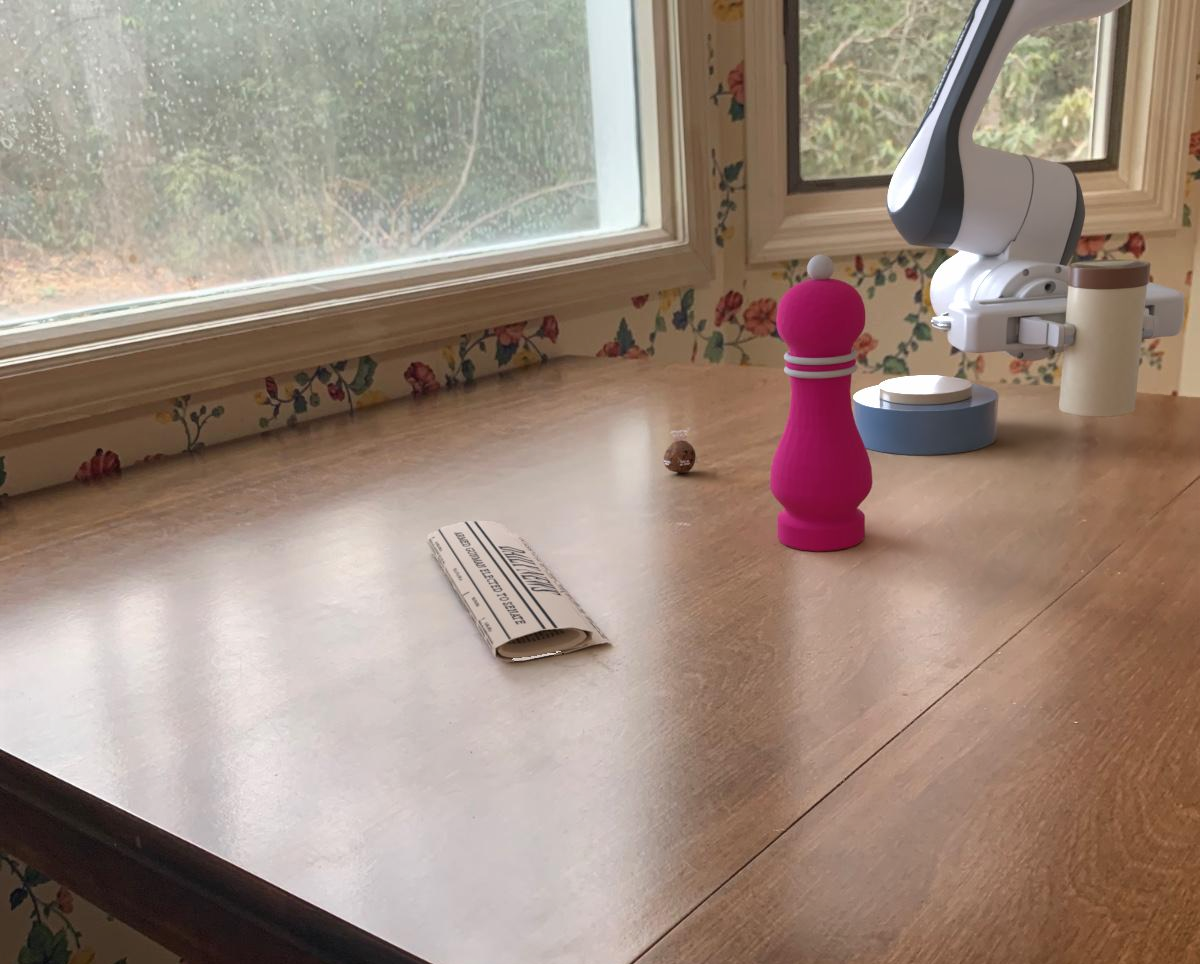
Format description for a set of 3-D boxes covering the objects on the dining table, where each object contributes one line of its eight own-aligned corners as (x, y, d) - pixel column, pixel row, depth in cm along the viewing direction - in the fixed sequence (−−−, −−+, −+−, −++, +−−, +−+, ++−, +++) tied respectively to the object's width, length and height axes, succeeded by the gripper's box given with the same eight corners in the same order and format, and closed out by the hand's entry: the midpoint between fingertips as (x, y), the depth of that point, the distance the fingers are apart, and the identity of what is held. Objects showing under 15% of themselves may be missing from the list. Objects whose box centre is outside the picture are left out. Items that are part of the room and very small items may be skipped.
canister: (1111, 398, 106) (1124, 257, 102) (1150, 413, 101) (1166, 264, 96) (1044, 405, 106) (1054, 263, 101) (1080, 420, 100) (1093, 270, 96)
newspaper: (427, 550, 92) (424, 527, 91) (518, 535, 93) (515, 513, 93) (496, 666, 70) (493, 638, 70) (611, 645, 72) (609, 617, 72)
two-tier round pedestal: (960, 416, 120) (962, 366, 118) (1021, 446, 108) (1024, 391, 106) (834, 429, 119) (834, 378, 117) (881, 461, 107) (882, 405, 105)
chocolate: (668, 479, 106) (666, 434, 104) (661, 472, 108) (659, 428, 106) (701, 474, 106) (699, 430, 105) (693, 468, 108) (692, 425, 107)
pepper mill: (826, 561, 84) (826, 262, 76) (750, 540, 89) (743, 259, 82) (892, 535, 88) (898, 250, 80) (816, 516, 93) (815, 247, 86)
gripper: (924, 284, 110) (991, 303, 98) (1135, 267, 113) (1227, 283, 100) (922, 354, 113) (987, 381, 100) (1128, 335, 115) (1218, 360, 102)
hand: (1109, 332), depth 100 cm, fingers closed on canister, 6 cm apart
